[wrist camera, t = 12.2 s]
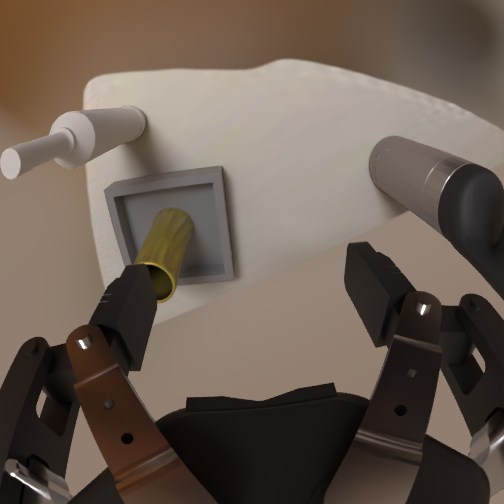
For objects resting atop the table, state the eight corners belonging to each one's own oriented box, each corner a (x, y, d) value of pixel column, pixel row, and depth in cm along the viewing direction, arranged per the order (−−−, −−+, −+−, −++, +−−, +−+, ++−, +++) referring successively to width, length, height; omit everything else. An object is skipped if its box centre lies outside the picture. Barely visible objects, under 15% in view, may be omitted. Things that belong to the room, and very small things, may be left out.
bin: (222, 165, 38) (221, 172, 35) (233, 265, 46) (234, 280, 43) (114, 182, 38) (103, 190, 35) (138, 274, 46) (132, 288, 42)
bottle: (115, 143, 35) (-5, 207, 14) (111, 108, 33) (-18, 135, 11) (148, 138, 36) (45, 196, 14) (146, 102, 33) (32, 113, 11)
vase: (181, 252, 43) (165, 315, 31) (146, 233, 41) (116, 290, 29) (201, 221, 41) (190, 276, 29) (164, 199, 39) (136, 247, 27)
